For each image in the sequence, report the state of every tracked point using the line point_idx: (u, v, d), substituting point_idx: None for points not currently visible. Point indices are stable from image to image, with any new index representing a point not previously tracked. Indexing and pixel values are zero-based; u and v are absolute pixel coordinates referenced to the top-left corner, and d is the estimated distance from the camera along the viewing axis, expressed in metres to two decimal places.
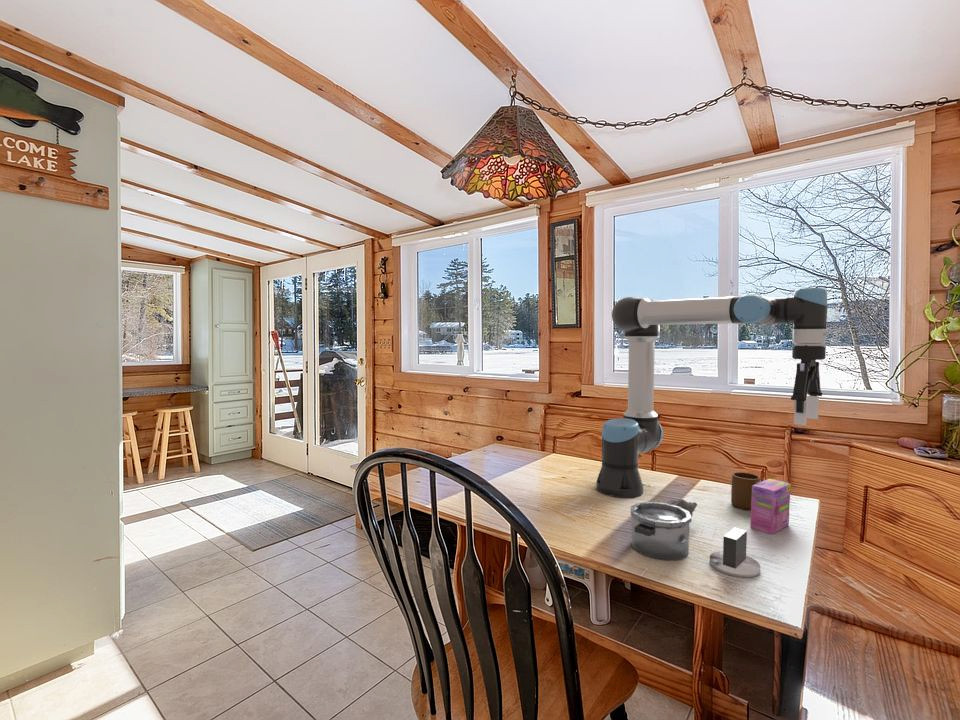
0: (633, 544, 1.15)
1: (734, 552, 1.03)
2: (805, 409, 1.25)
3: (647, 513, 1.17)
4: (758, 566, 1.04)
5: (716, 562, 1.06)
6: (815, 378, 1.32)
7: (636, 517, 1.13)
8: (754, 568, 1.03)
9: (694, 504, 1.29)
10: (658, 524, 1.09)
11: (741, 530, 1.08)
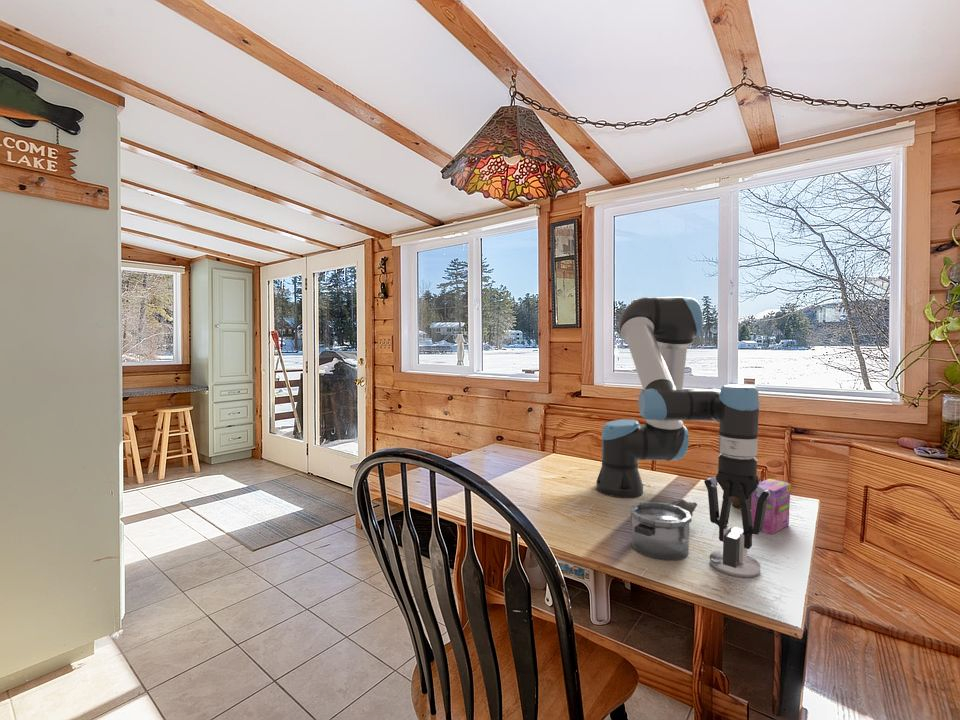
0: (633, 544, 1.15)
1: (734, 552, 1.03)
2: (723, 538, 1.07)
3: (647, 513, 1.17)
4: (758, 565, 1.04)
5: (716, 561, 1.06)
6: None
7: (636, 517, 1.13)
8: (754, 568, 1.03)
9: (694, 504, 1.29)
10: (658, 524, 1.09)
11: (741, 529, 1.08)
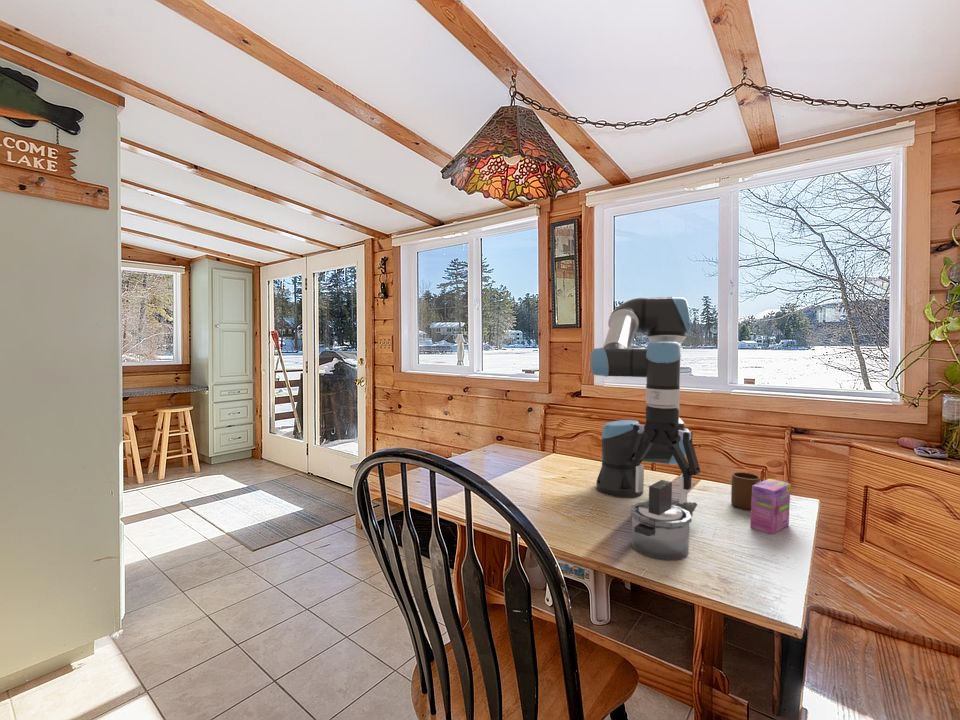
0: (633, 544, 1.15)
1: (658, 501, 1.12)
2: (636, 475, 1.18)
3: None
4: (680, 513, 1.13)
5: (643, 511, 1.15)
6: None
7: (636, 517, 1.13)
8: (676, 515, 1.12)
9: (694, 504, 1.29)
10: (658, 524, 1.09)
11: (666, 481, 1.17)
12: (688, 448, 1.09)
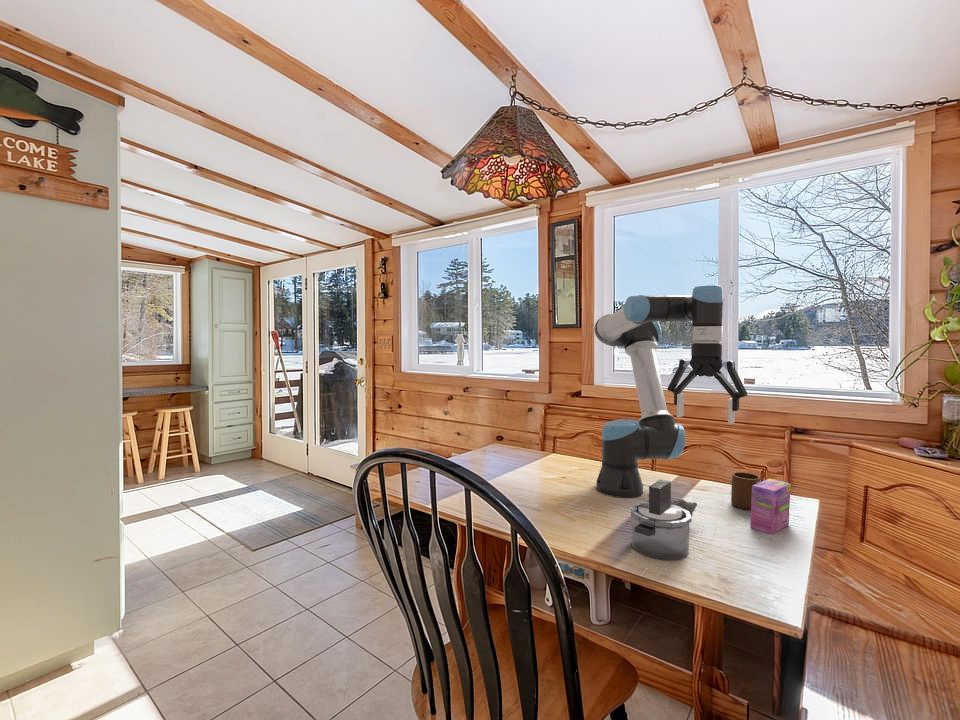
0: (633, 544, 1.15)
1: (658, 500, 1.12)
2: None
3: None
4: (680, 512, 1.13)
5: (643, 511, 1.14)
6: None
7: (636, 517, 1.13)
8: (676, 514, 1.12)
9: (694, 504, 1.29)
10: (658, 524, 1.09)
11: (665, 481, 1.17)
12: (733, 374, 1.23)
